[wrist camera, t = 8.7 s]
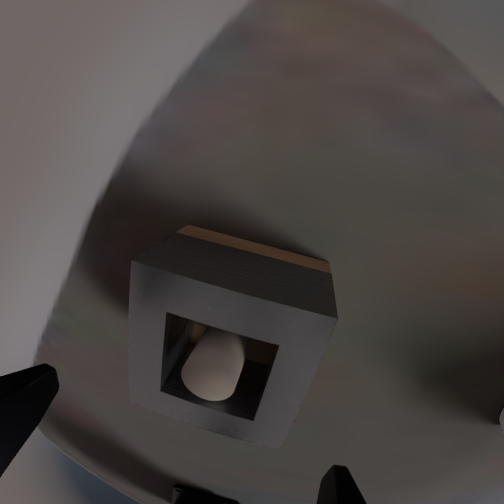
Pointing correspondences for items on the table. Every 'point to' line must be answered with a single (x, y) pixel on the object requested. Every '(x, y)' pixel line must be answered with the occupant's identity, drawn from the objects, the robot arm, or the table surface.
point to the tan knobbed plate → (224, 342)
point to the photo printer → (502, 421)
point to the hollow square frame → (230, 319)
